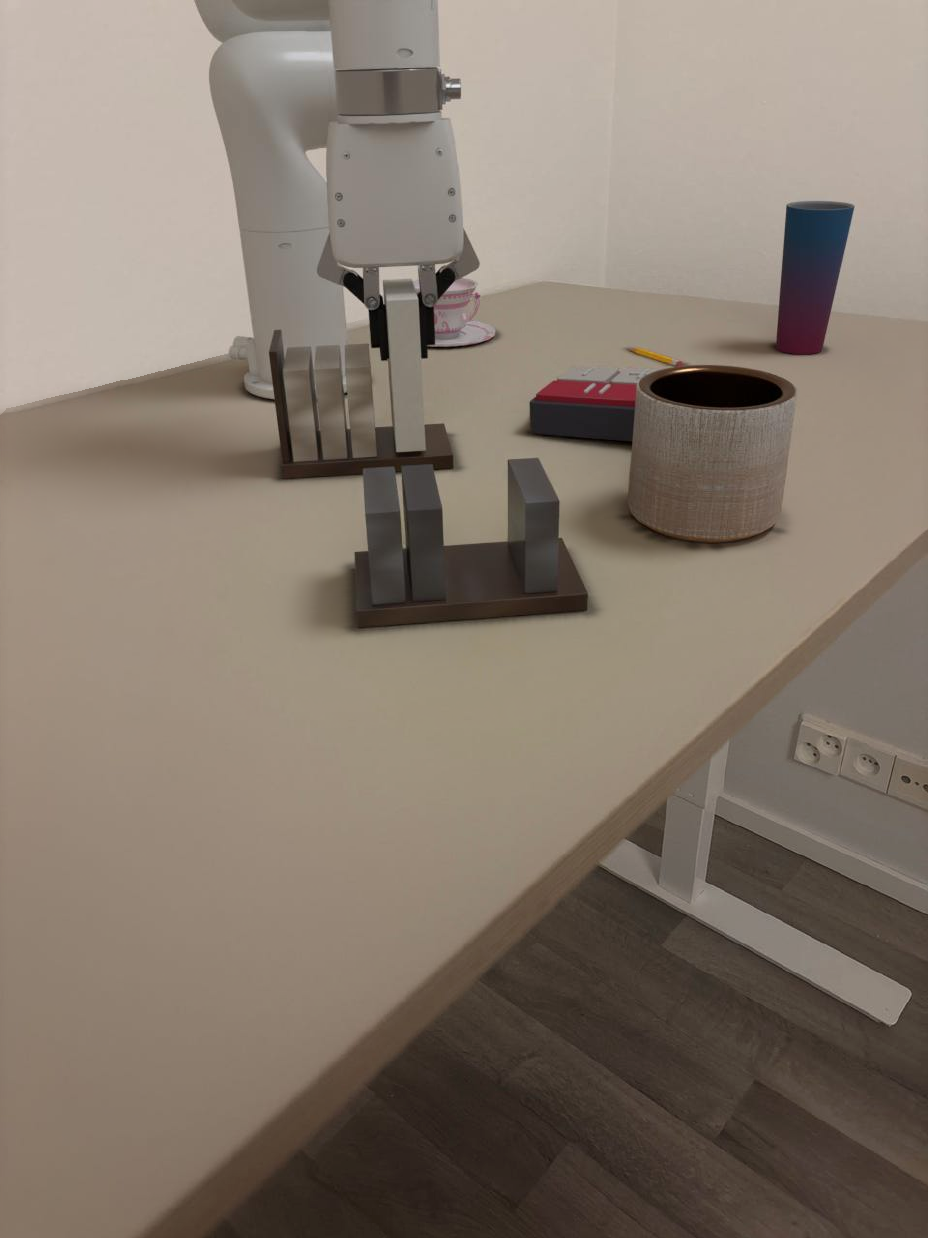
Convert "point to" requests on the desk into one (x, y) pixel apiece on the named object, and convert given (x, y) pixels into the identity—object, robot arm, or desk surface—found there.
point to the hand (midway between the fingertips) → (403, 353)
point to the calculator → (588, 403)
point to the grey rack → (461, 554)
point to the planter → (710, 451)
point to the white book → (405, 364)
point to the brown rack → (337, 415)
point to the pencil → (656, 356)
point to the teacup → (458, 316)
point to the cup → (810, 272)
